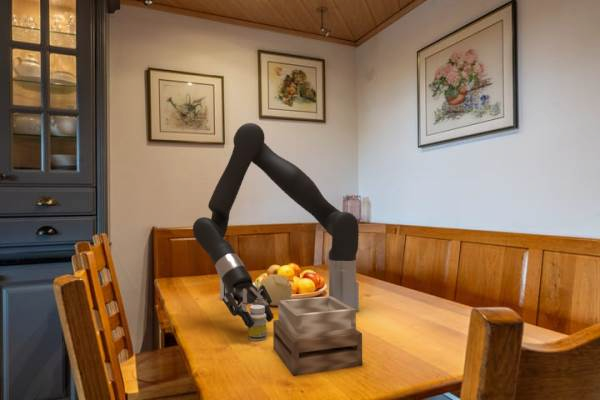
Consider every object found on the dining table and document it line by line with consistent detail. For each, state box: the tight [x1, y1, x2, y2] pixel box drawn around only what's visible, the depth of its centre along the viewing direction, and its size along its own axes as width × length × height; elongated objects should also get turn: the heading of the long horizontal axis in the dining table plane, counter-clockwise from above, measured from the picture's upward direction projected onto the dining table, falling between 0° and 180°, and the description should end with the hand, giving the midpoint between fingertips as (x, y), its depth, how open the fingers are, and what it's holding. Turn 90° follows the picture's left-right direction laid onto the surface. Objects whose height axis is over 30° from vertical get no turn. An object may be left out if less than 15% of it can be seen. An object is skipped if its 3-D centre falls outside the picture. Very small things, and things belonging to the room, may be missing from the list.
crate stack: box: [272, 295, 363, 377], centre depth 90 cm, size 16×16×12 cm
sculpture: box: [259, 273, 293, 307], centre depth 138 cm, size 12×12×11 cm
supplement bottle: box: [248, 304, 267, 342], centre depth 102 cm, size 5×5×8 cm
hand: (261, 322), depth 101 cm, fingers open, 6 cm apart
